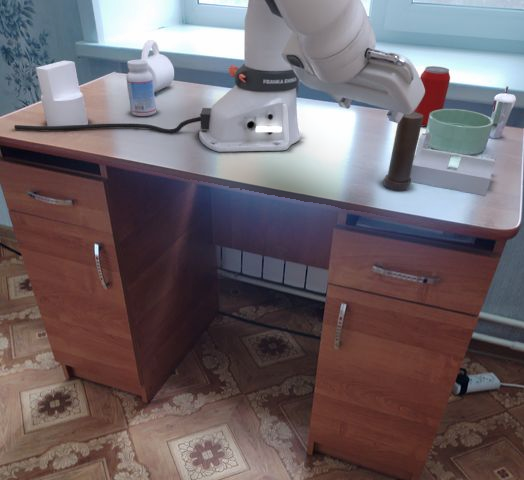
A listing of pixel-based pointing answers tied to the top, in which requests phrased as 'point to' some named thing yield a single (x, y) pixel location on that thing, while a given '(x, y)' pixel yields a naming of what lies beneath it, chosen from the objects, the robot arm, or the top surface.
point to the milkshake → (501, 112)
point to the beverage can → (433, 91)
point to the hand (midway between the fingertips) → (371, 111)
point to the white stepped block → (61, 94)
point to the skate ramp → (437, 173)
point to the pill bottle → (140, 88)
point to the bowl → (459, 131)
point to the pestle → (403, 152)
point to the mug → (158, 66)
